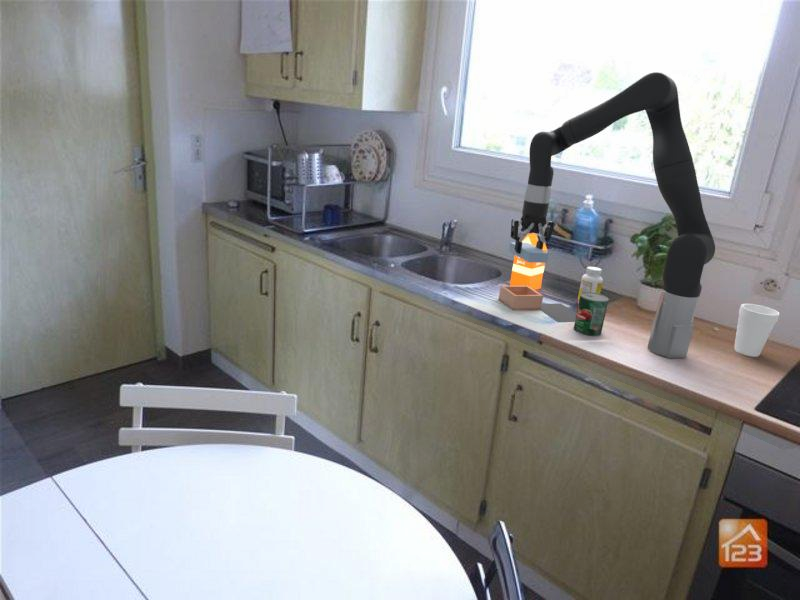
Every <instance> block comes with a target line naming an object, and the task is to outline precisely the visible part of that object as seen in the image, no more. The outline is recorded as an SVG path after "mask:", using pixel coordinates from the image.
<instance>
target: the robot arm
mask: <svg viewBox="0 0 800 600" xmlns="http://www.w3.org/2000/svg"><path fill="white" fill-rule="evenodd" d="M642 111H645V113H646V115H647V119H648V121H649V125H650V128H651V132H652V163H653V171H654V175H655V179H656V184H657V186H658V190H659V193H660V194H661V196H662V198H663V200H664V201H665V203H666V206H668V209H669V210H670V211H671V214H672V216H673V219H674V223H675V226H676V232H677V237H675V238H674V239H673V240H671V243H670V245H669V247H668V250H667V255H666V259H665V264H664V267H663V273H662V282H663V283H662V287H661V288H662V289H661V291H660V296H659V299H658V304H657V308H656V311H655V316H654V318H653V323H652V328H651V330H650V331H651V332H650V335H649V339H648V343H647V349H648V350H649V351H651V352H652V353H654V354H657V355H660V356H663V357H666V358H667V359H676V358H677V359H678V358H679V359H680V358H687V355H688V352H689V349H690V343H691V341H692V337H693V334H694V331H695V330H694V329H695V328H696V327H695V324H694V323H693V321H694V318H695V314H696V311H697V307H698V303H699V300H700V296H701V292H702V288H703V286H702V284H701V279H702V274H703V270H704V266H705V265H707V264H708V263H710V261H711V260H712V259H713V258H714V256H715V254H716V244H715V240H714V238H713V234H712V232H711V230H710V227H709V223H708V221H707V218H706V215H705V211H704V209H703V203H702V196H701V192H700V188H699V183H698V178H697V173H696V169H695V168H696V167H695V163H694V160H693V157H692V152H691V149H690V146H689V142H688V139H687V136H686V132H685V130H684V128H683V127H684V126H683V123H682V119H681V118H682V116H681V109H680V101H679V92H678V87H677V84H676V82H675V81H674V79H672V78H671V77H670V76H668V75H667V74H665V73H662V72H657V71H656V72H655V71H654V72H650V73H648V74H645V75H643V76H642V77H641V78H639V79H638V80H636V81H635V82H633V83H632V84H631V85H629V86H627V87H626V88H625V89H624V90H622V91H620V92H619V93H617V94H616V95H614V96H612V97H611V98H609V99H607V100H605V101H603V102H601V103H600V104H598V105H597V106H594V107H592V108H590V109H588V110H586V111H584V112H582V113H580V114H578V115H576V116H573V117H572V118H569V119H567V120H566V121H565V122H563V123H562V125H561V126H559V127H557V128H555V129H553V130H551V131H550V130H549V131H539V132H537V133H535V135H534V136H533V137H532V138H531V141H530V144H529V173H528V178H527V179H528V180H527V186H526V188H525V189H526V190H525V192H524V193H525V194H524V198H523V206H522V212H521V213H522V214H521V218H520V219H514V218H513V219H511V221H510V222H511V225H510V238H511V239H512V240H514V241H515V251H516V253H518V254H520V253H521V248H522V243H523V242H522V241H523V239H524V238H525V237H526V236H527V235H528V234H531V233H535V234H536V235H537V239H538V241H537V244H536V247H537V248H539V249H541V250H543V244H544V242H545V243H546V242H548V241H551V238H552V234H553V231H554V227H555V222H554V221H552V220H547V216H548V213H549V207H550V200H551V196H552V184H553V180H554V179H553V178H554V172H555V171H554V168H553V167H552V165H551V164H552V157H553V156H556V155H558V154H560V153H562V152H564V151H565V150H567V149H568V148H571V147H572V146H573V145H576V144H578V143H580V142H582V141H583V142H584V141H585V140H587V139H589V138H592V137H594V136H596V135H597V134H599V133H601V132H603V131H604V130H605V129H607V128H608V127H610V126H611V125H613V124H614V123H615V122H617V121H620V120H621V119H623V118H625V117H627V116H629V115H633V114H636V113H640V112H642ZM544 227H545V228H544ZM519 228H520V229H519ZM543 229H544V230H543Z"/></svg>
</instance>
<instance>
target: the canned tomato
mask: <svg viewBox="0 0 800 600" xmlns="http://www.w3.org/2000/svg"><path fill="white" fill-rule="evenodd" d="M609 300H610V299H609V298H608V296H606V295H604V294H601V293H600V294H598V293H593V292H582V293H581V294H580V299H579V304H578V303H577V304H578V305H577V310H576V313H577V314H576V319H575V322H574V325H573V330H574V331H575V332H576V333H578V334H581V335H585V336H588V337H589V336H590V337H599V336H601V334H602V331H603V328H604V327H603V326H604V322H605V319H606V318H605V317H606V313H607V308H608V303H609Z"/></svg>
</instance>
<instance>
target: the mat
mask: <svg viewBox="0 0 800 600" xmlns="http://www.w3.org/2000/svg"><path fill="white" fill-rule="evenodd" d="M539 310H540V311H541V312H542V313H544V314H545V315H547V316H549V318H551V319H553V320H554V321H555V322H557V323H575V319H576V314H577V312H575V311H574V310H572V309H571V308H569V307H568V306H566V305H564V304H563V303H560V302H559V303H542V305H541V309H539Z"/></svg>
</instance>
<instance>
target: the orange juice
mask: <svg viewBox="0 0 800 600" xmlns="http://www.w3.org/2000/svg"><path fill="white" fill-rule="evenodd" d="M537 241H538V239H537V235H536V234H535V233H528V235H527V236H525V238H524V239H523V241H522V242H523V243H529V244H531V245H533V246H535V247H536V244H537ZM543 251H545V252H547V253H548V248H547V246H546V241H545V242H544V244H543ZM545 267H546V263H528V262H526V261H525V260H523V259H521V258H519V257H518V256H516V255H514V257H513V264H512V269H511V275H510V283H509V286H529V287H531V288H532V289H534V290H535V291H538V290H541V287H542V282H543V276H544V272H545Z"/></svg>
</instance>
